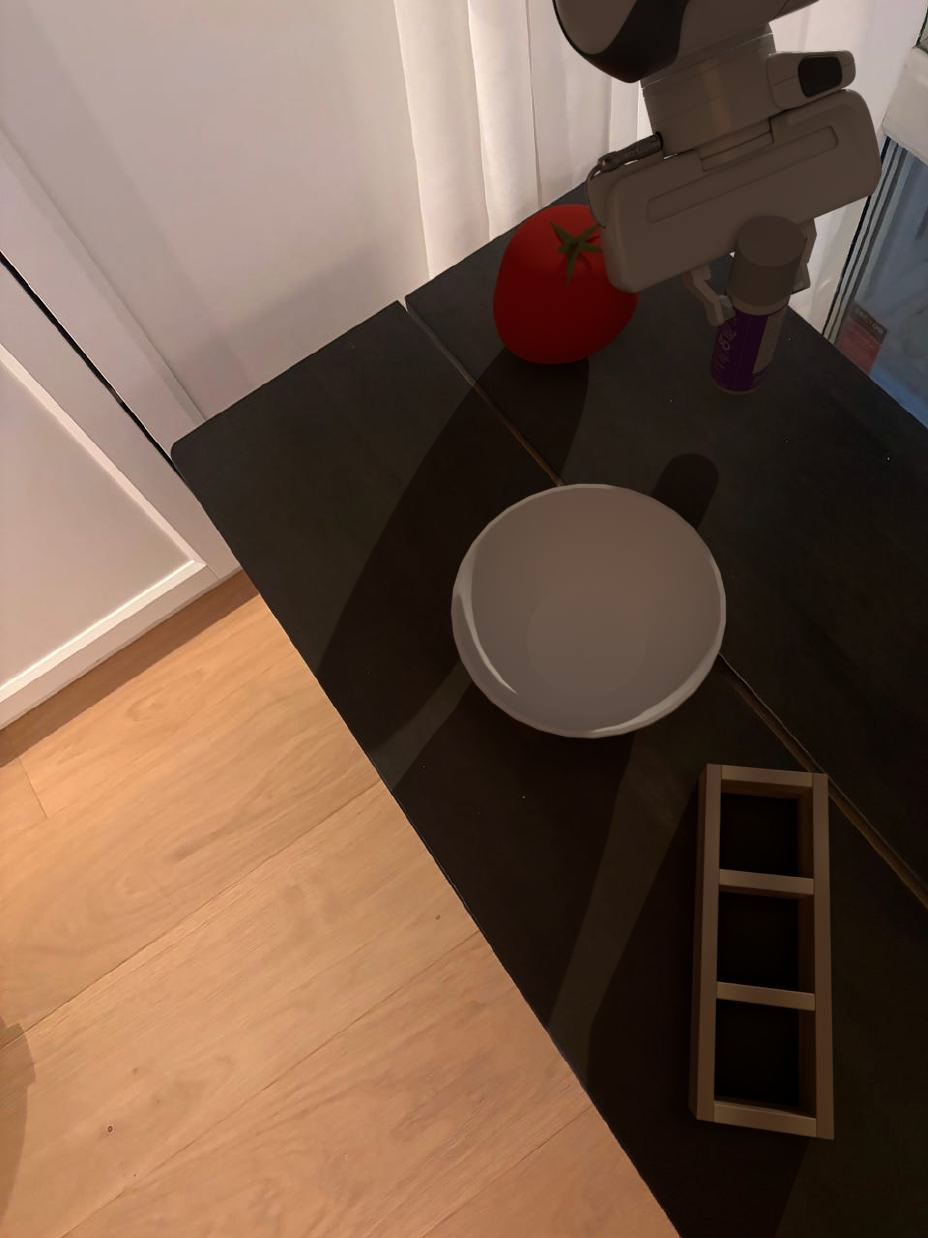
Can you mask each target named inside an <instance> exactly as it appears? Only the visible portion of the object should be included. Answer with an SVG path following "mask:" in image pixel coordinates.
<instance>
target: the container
mask: <svg viewBox="0 0 928 1238" xmlns="http://www.w3.org/2000/svg"><path fill="white" fill-rule="evenodd" d="M803 247H804V235H803V233H802V231H801V229H800V228H799V227H798V226H797V225H796V224H795V223H794V222H792V221H791V220H789V219H786V218H783V217H779V216H763V217H759V218H756V219H754V220H752V221H750V222H749V223H747V224H746V225H745V226H744V227H743V228H742V230H741V231H740V233H739V236H738V240H737V244H736V248H735V252H733V257H732V262H731V265H730V270H729V272H728V273H729V274H728V278H727V281H726V286H725V291H724V295H725V296H727V295H729V296H731V297H732V301H733V309H734V310H735V313H736V318H735V319H733V320H731V321H728V322H726V323H724V324H722V325H719V326H717V330H716V334H715V340H714V346H713V350H712V355H711V359H710V365H709V377H710V380H711V382H712V384H713V385H714V386H715V387H716V388H717V389H719V390H720V391H721V392H723V393H726V394H728V395H733V396H734V395H735V396H743V395H747V394H751V393H753V392H755V391H757V390H758V389H760V388H761V386H762V385H763V384H764V383H765V381H766V378H767V375H768V372H769V370H770V369H769V368H770V365H771V362H772V359H773V356H774V352H775V348H776V345H777V343H778V339H779V335H780V333H781V329H782V326H783V323H784V320H785V316H786V314H787V310H788V306H789V303H790V299H791V296H792V295H791V293H792V289H793V285H794V282H795V278H796V274H797V270H798V266H799V263H800V259H801V255H802V251H803Z"/></svg>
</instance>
